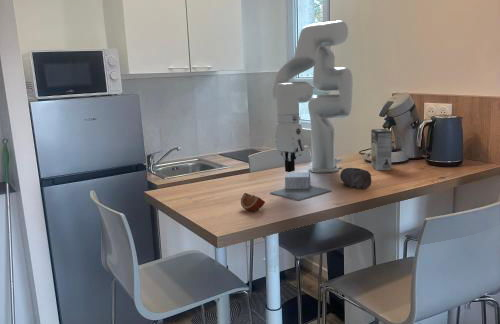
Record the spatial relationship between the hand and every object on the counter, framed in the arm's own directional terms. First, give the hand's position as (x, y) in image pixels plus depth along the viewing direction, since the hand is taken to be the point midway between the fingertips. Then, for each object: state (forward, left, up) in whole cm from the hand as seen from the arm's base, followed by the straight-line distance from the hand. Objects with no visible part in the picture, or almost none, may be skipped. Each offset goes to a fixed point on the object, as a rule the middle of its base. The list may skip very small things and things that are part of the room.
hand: (290, 171), depth 152 cm
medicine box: (-1, -4, -4) cm, 6 cm away
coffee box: (-50, +3, -7) cm, 51 cm away
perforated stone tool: (-18, +14, -7) cm, 24 cm away
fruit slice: (+24, +9, -7) cm, 26 cm away
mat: (0, +5, -7) cm, 9 cm away
